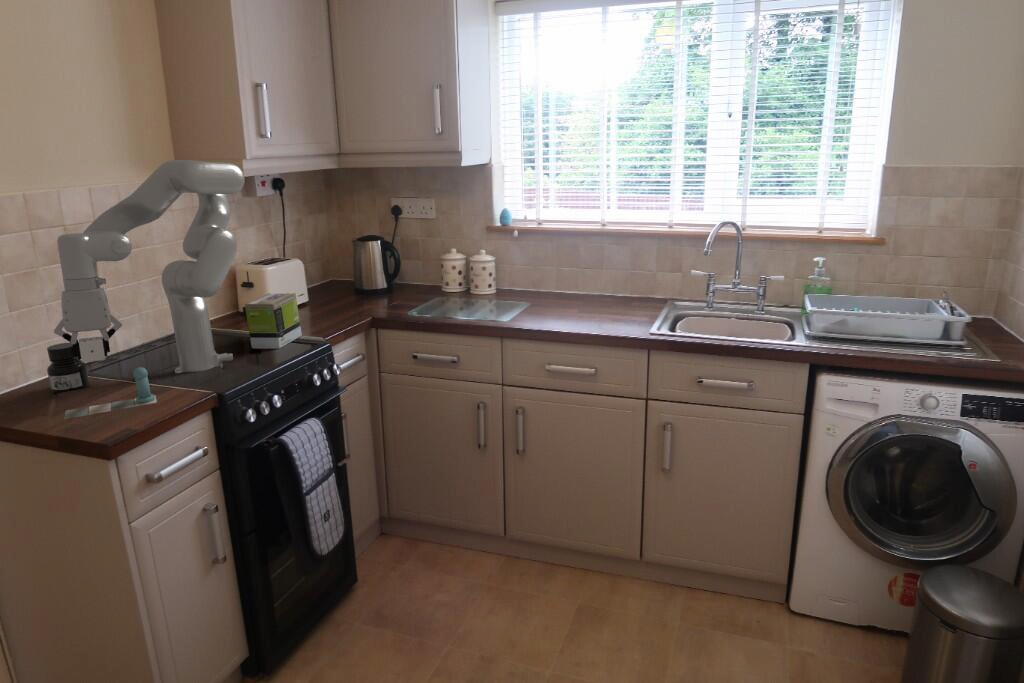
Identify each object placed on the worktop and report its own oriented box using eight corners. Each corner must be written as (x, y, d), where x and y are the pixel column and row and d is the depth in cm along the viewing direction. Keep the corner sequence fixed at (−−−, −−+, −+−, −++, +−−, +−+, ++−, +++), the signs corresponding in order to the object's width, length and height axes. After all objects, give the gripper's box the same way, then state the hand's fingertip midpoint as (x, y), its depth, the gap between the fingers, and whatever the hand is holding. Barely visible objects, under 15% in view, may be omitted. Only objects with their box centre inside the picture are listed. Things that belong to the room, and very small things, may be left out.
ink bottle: (43, 394, 192) (33, 351, 189) (62, 383, 201) (53, 342, 197) (79, 393, 192) (70, 350, 189) (97, 382, 201) (89, 340, 197)
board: (156, 399, 185) (155, 394, 185) (158, 407, 179) (157, 402, 179) (66, 415, 176) (65, 410, 176) (64, 424, 170) (63, 419, 170)
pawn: (154, 396, 183) (147, 364, 181) (154, 401, 180) (148, 368, 177) (136, 399, 181) (130, 366, 179) (136, 404, 178) (130, 371, 176)
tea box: (274, 335, 242) (269, 292, 237) (302, 336, 239) (297, 292, 235) (250, 348, 227) (243, 302, 223) (279, 349, 225) (273, 303, 221)
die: (105, 355, 185) (102, 335, 184) (105, 359, 180) (102, 339, 179) (82, 358, 182) (78, 338, 181) (81, 362, 178) (78, 342, 177)
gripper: (121, 279, 184) (130, 349, 188) (41, 285, 176) (53, 358, 180) (121, 283, 178) (131, 355, 182) (39, 290, 170) (52, 365, 174)
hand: (92, 356), depth 181 cm, fingers closed on die, 5 cm apart
